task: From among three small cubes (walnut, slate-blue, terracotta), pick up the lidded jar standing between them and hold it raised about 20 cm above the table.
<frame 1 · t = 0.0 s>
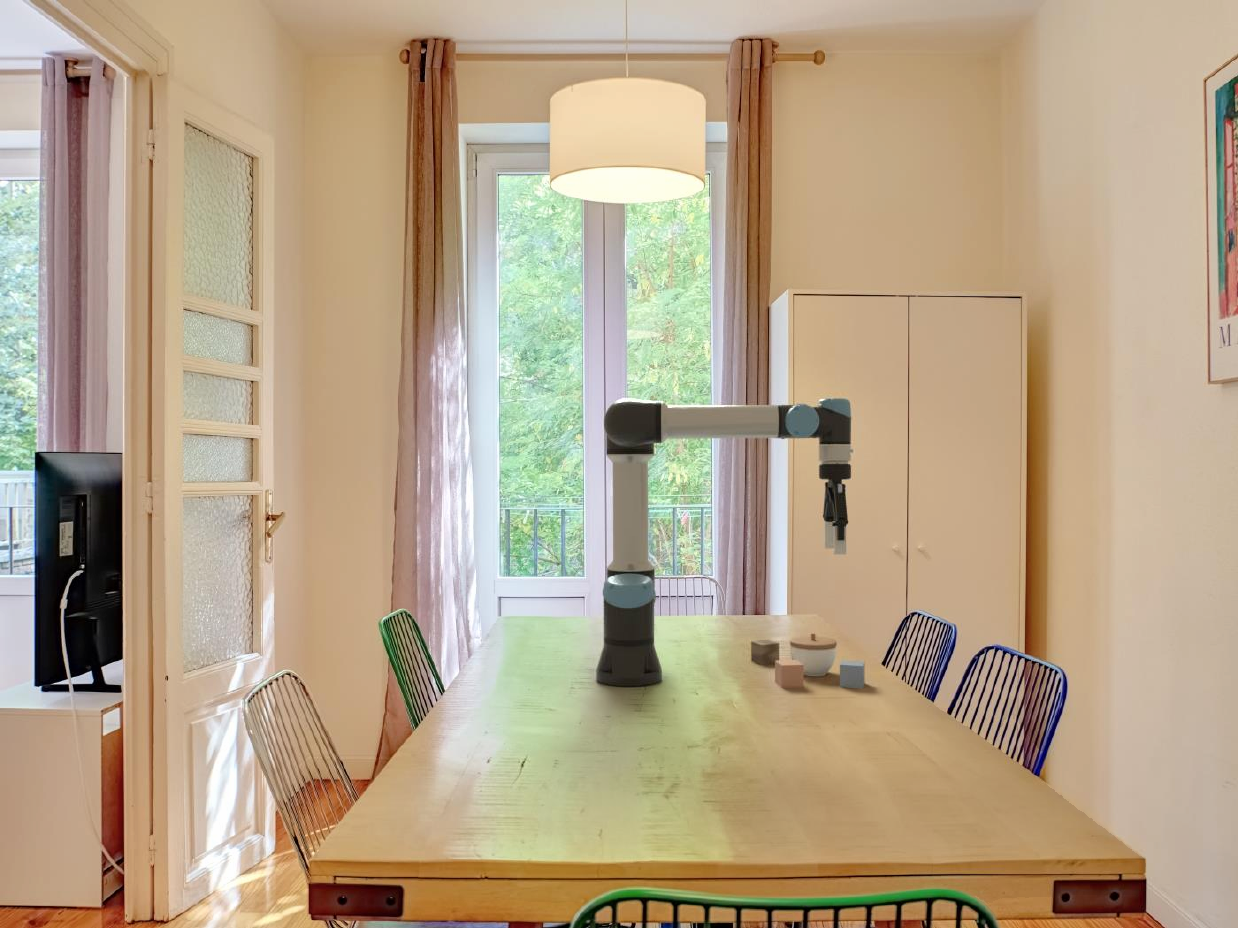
hand: (835, 551, 236), 28 cm above the table, fingers open, 13 cm apart
cube slate: (852, 685, 220), on the table
cube walnut: (765, 662, 243), on the table
lidded jar: (813, 674, 231), on the table
cube terracotta: (789, 684, 220), on the table
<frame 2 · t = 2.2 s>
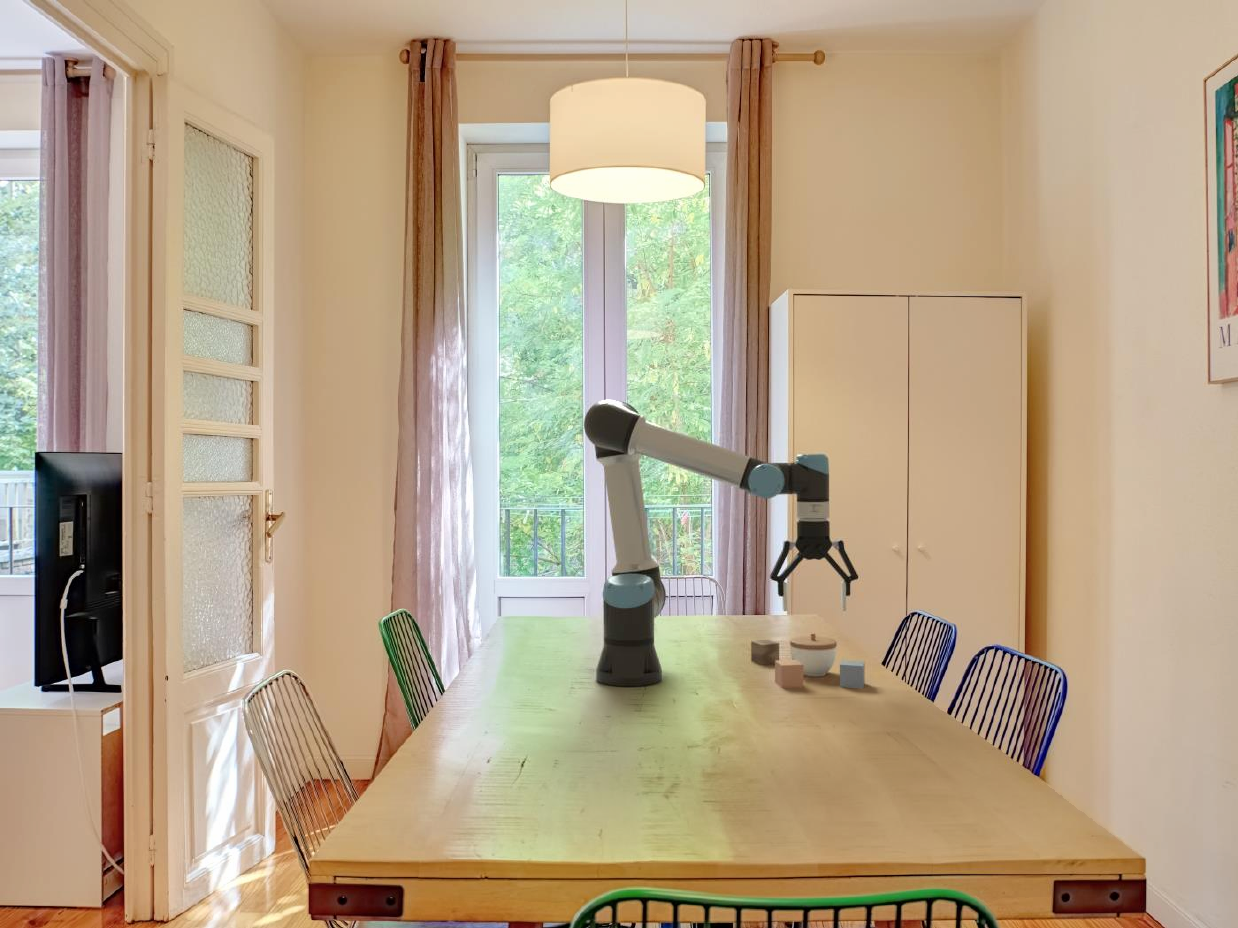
hand: (814, 610, 231), 15 cm above the table, fingers open, 13 cm apart
nothing on the table moved.
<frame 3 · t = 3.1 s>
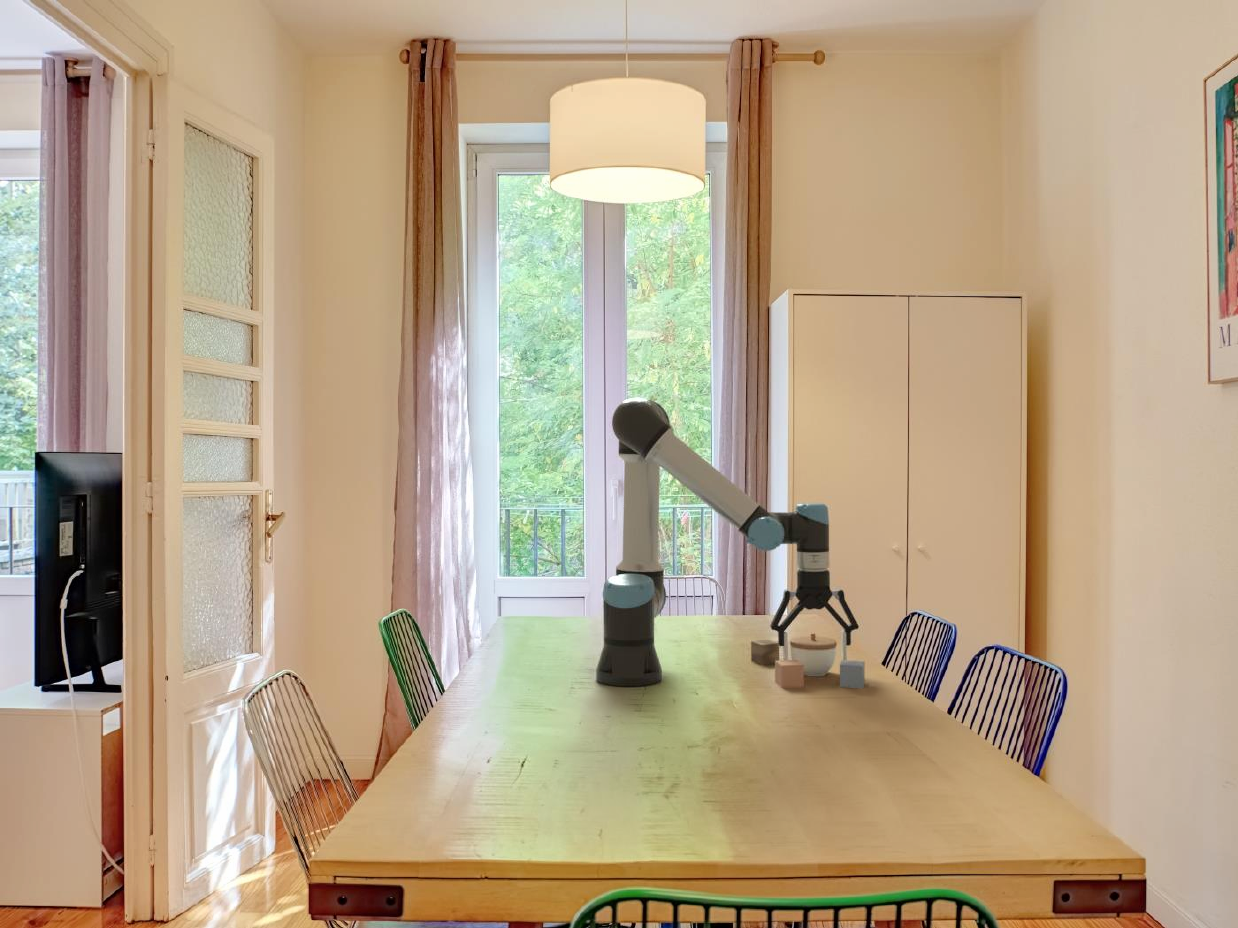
hand: (814, 659, 231), 3 cm above the table, fingers open, 13 cm apart
nothing on the table moved.
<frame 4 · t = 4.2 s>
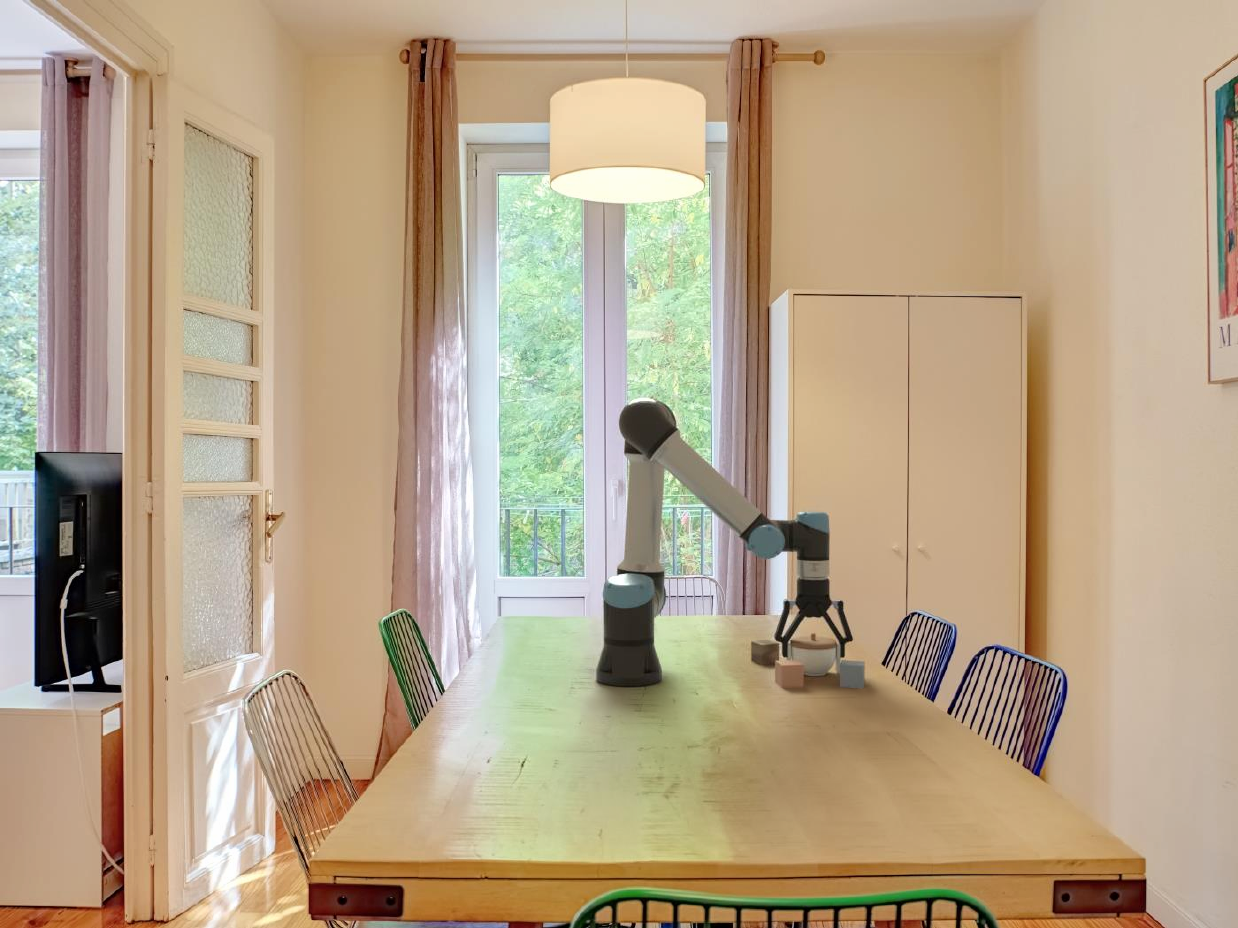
hand: (813, 671, 231), 0 cm above the table, fingers closed on lidded jar, 11 cm apart
lidded jar: (813, 674, 231), on the table, touching gripper
everything else where it was.
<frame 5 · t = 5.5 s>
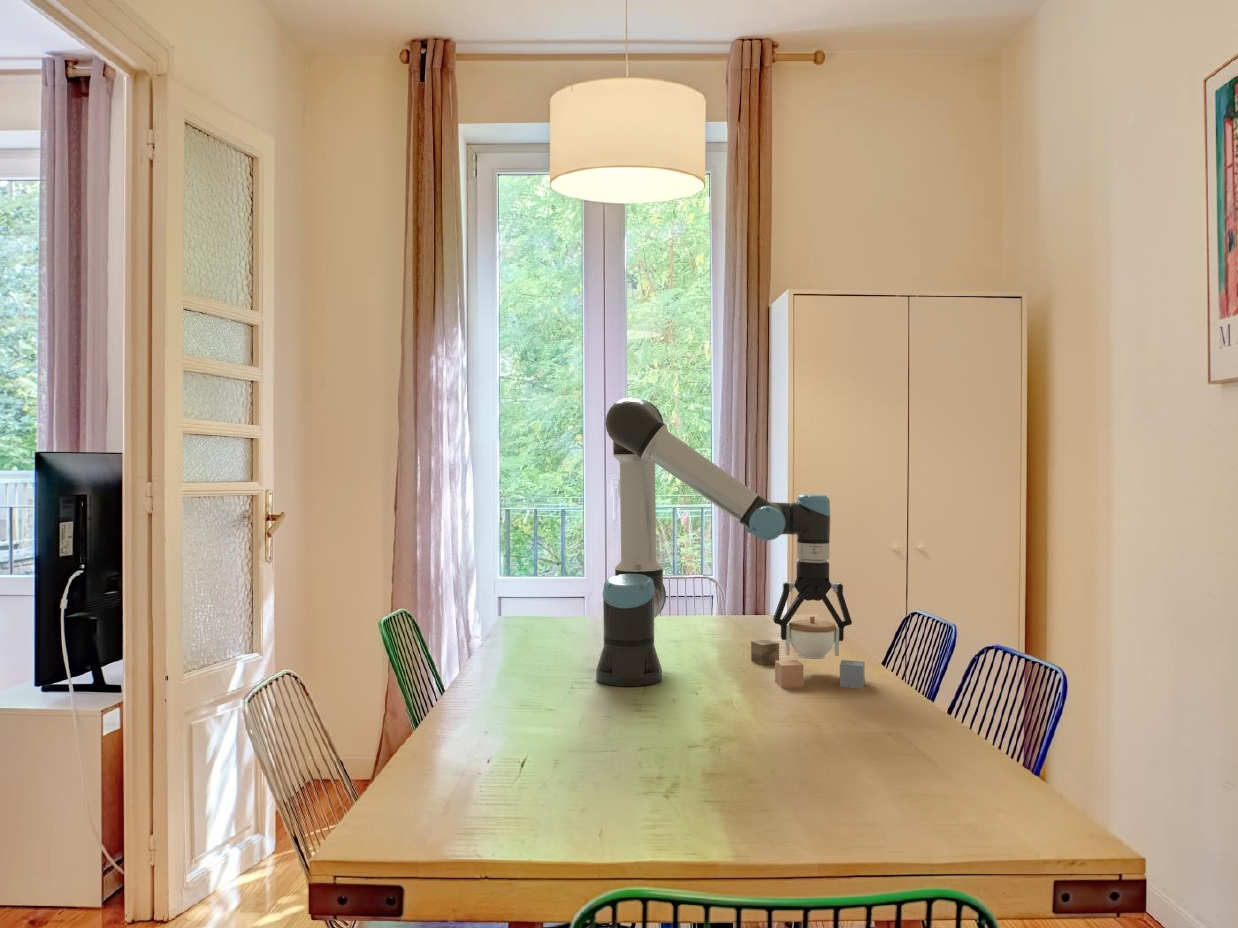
hand: (811, 654, 231), 4 cm above the table, fingers closed on lidded jar, 11 cm apart
lidded jar: (811, 657, 231), point 4 cm above the table, touching gripper
everything else where it was.
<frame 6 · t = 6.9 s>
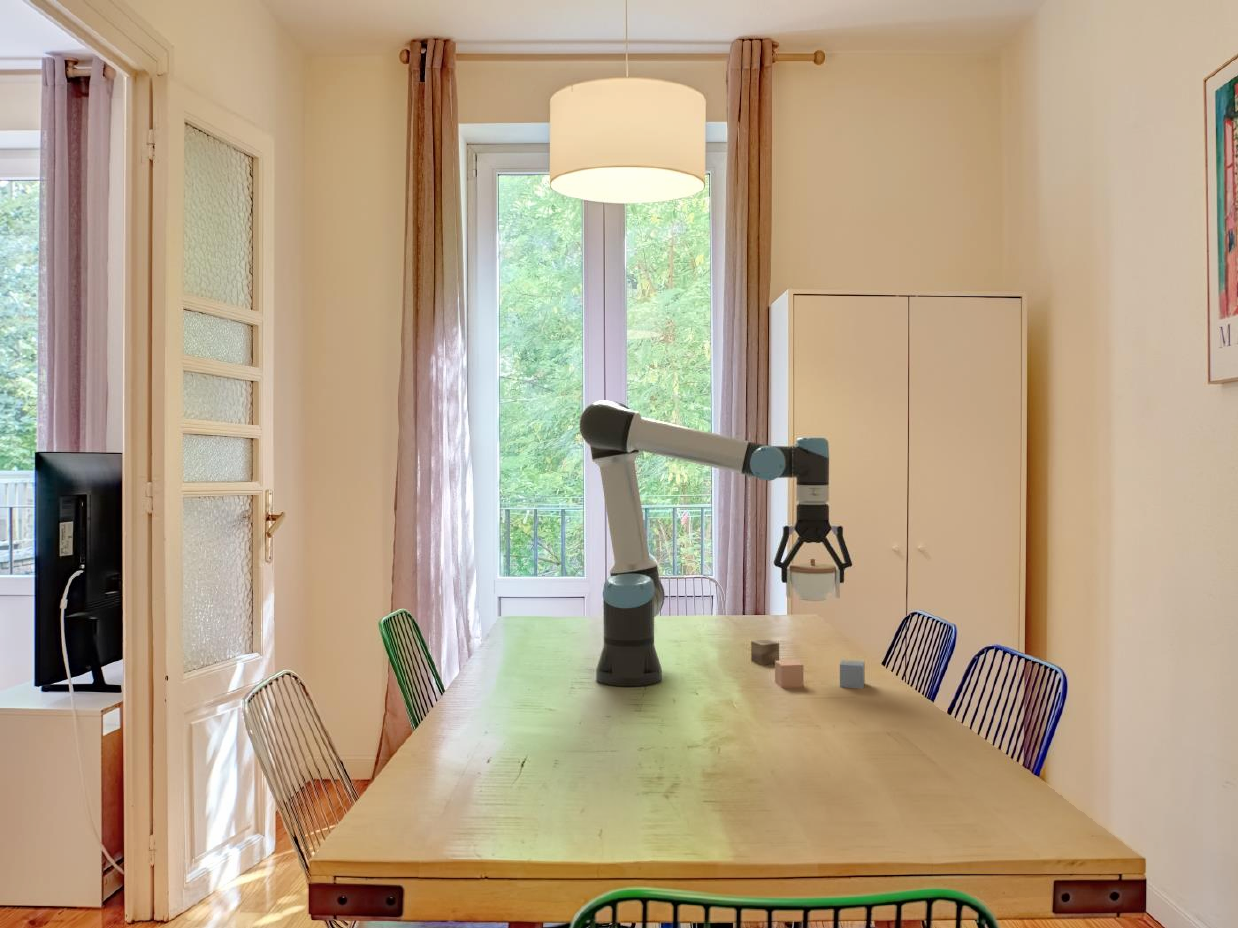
hand: (812, 596, 231), 18 cm above the table, fingers closed on lidded jar, 11 cm apart
lidded jar: (812, 599, 231), point 17 cm above the table, touching gripper
everything else where it was.
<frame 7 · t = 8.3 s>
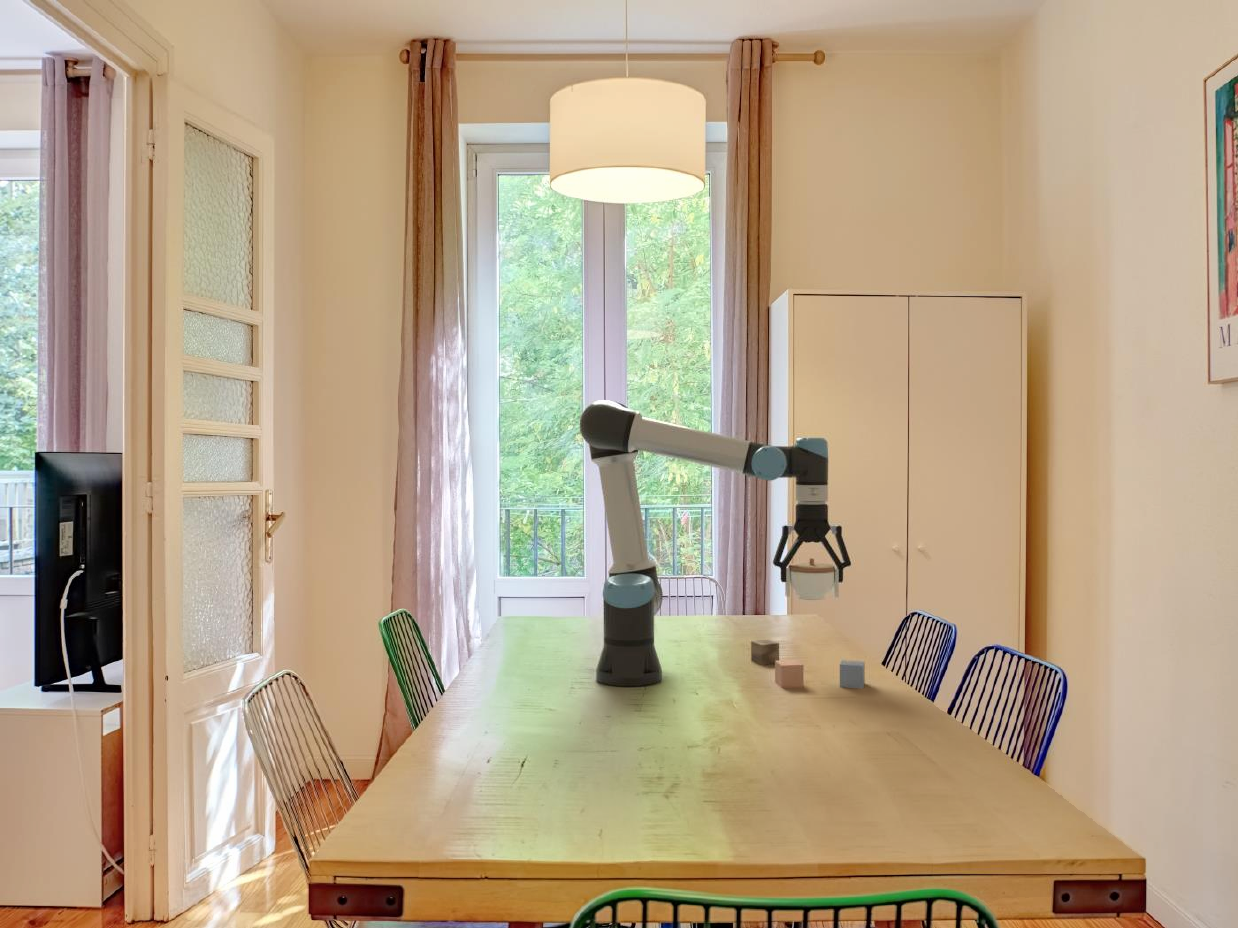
hand: (811, 596, 233), 18 cm above the table, fingers closed on lidded jar, 11 cm apart
lidded jar: (811, 598, 233), point 17 cm above the table, touching gripper
everything else where it was.
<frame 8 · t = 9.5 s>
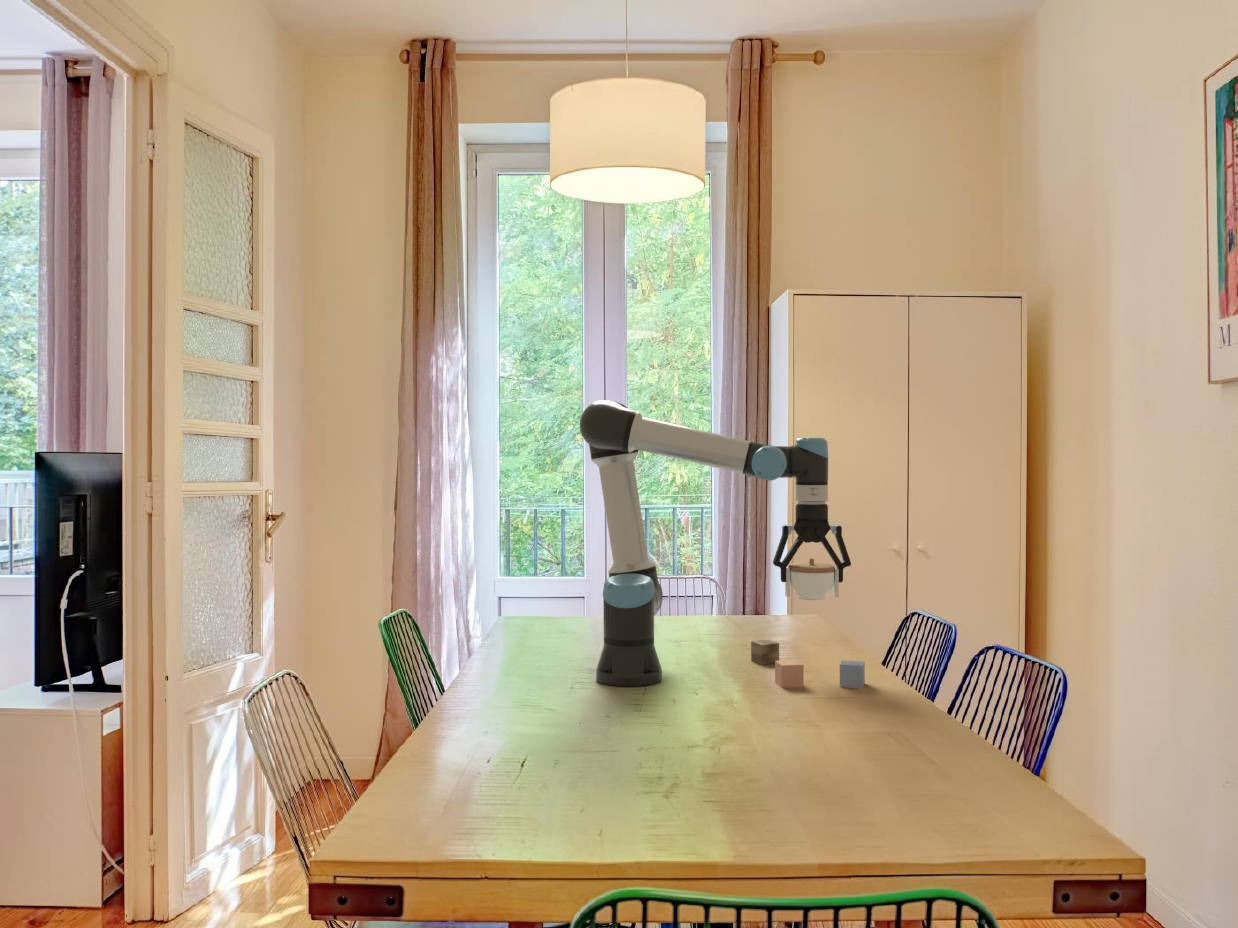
hand: (811, 596, 233), 18 cm above the table, fingers closed on lidded jar, 11 cm apart
lidded jar: (811, 598, 233), point 17 cm above the table, touching gripper
everything else where it was.
at the end: the gripper is holding lidded jar; lidded jar point 17.2 cm above the table; cube terracotta moved 0.1 cm from its start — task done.
